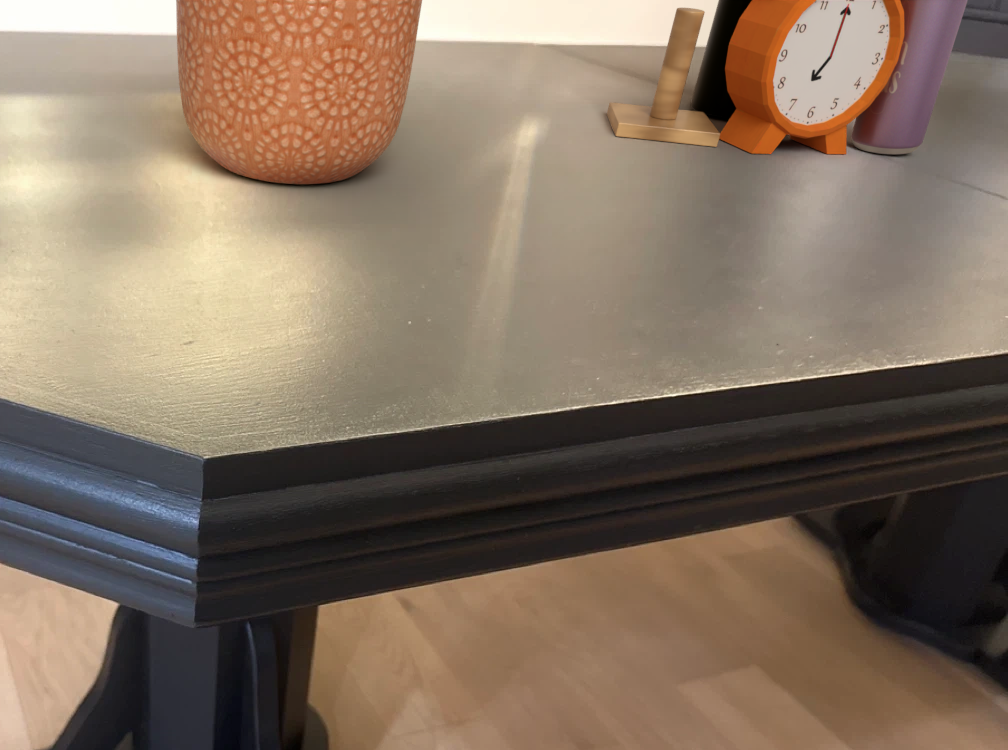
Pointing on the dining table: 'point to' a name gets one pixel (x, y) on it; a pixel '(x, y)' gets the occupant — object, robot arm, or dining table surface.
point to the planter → (295, 83)
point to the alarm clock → (808, 69)
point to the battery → (717, 62)
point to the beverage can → (911, 79)
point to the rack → (669, 95)
